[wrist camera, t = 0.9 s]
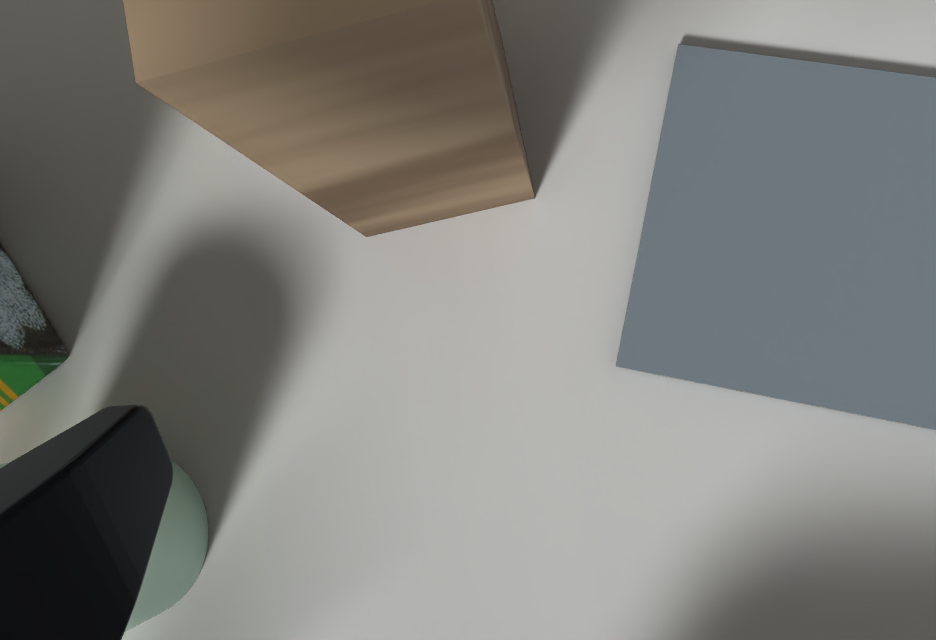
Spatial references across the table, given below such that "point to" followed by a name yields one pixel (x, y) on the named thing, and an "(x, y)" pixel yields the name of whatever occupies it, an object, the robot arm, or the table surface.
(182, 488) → the pale green rounded piece
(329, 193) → the walnut block
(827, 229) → the coaster
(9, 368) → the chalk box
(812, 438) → the table surface
